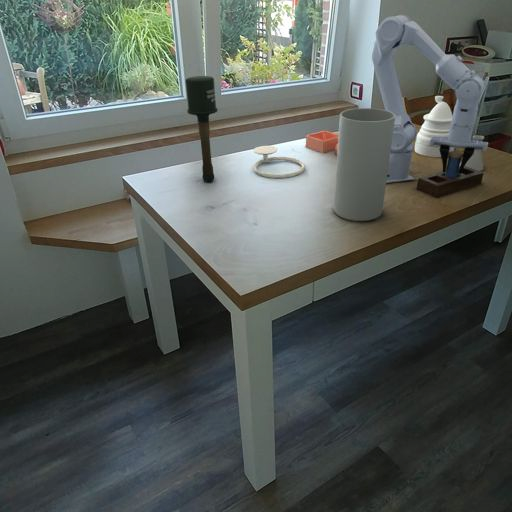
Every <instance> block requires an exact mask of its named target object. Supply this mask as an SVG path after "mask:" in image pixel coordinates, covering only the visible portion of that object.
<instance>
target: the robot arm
mask: <svg viewBox="0 0 512 512" xmlns="http://www.w3.org/2000/svg"><path fill="white" fill-rule="evenodd" d="M374 34H375V35H374V36H375V39H374V44H373V48H372V53H371V61H372V65H373V68H374V72H375V75H376V80H377V84H378V87H379V91H380V95H381V98H382V102H383V107H384V110H387V111H390V112H392V113H394V114H395V122H394V129H393V137H392V144H391V151H390V159H389V166H388V173H387V181H386V184H390V183H397V182H398V183H399V182H406V181H407V182H409V181H413V180H415V178H414V177H413V176H411V175H410V168H411V162H412V157H413V151H414V147H413V144H412V143H413V141H414V140H416V138H417V134H418V130H417V128H416V125H414V123H413V122H412V119H411V117H410V115H409V114H408V113H407V111H406V107H405V103H404V99H403V94H402V90H401V87H400V83H399V78H398V75H397V71H396V67H395V62H394V59H393V58H394V57H393V56H394V55H395V53H396V51H397V49H398V48H399V46H400V45H405V46H406V45H408V46H413V47H414V48H415V49H416V50H418V51H419V52H420V53H421V54H422V55H423V56H425V57H426V58H427V59H428V60H429V61H430V62H431V63H433V64H434V65H435V74H436V75H437V76H438V77H440V79H441V80H442V81H443V82H444V83H445V84H446V85H448V86H449V87H450V88H451V89H452V90H454V91H455V97H456V102H455V105H454V108H453V112H452V116H453V117H452V122H451V127H450V131H449V136H448V137H431V140H430V146H434V145H437V146H440V149H439V150H440V154H441V157H440V158H441V163H442V171H443V172H444V173H445V171H446V169H447V164H448V159H449V156H448V153H449V149H450V147H454V148H458V149H464V150H463V157H461V161H460V163H461V165H460V168H459V172H458V174H460V175H461V172H462V170H463V168H464V166H465V164H466V163H467V161H468V160H469V159H470V158H471V156H472V155H473V154H474V150H475V149H476V150H481V152H487V150H488V146H489V142H488V141H483V140H482V141H477V140H473V139H472V137H473V132H474V128H475V124H476V123H475V122H476V120H477V119H476V118H477V114H478V110H479V104H480V95H481V94H482V93H483V91H484V89H485V82H484V80H483V78H482V76H481V75H479V74H476V71H475V70H474V69H472V70H471V69H470V68H469V67H467V66H466V65H465V63H463V62H462V60H463V58H462V56H461V55H457V56H456V55H455V54H453V53H452V54H451V53H450V54H446V53H445V52H444V50H443V49H441V48H440V47H439V45H438V44H436V42H435V41H434V40H433V39H432V38H431V36H429V34H428V33H427V32H426V31H424V29H423V28H422V27H421V26H420V25H419V24H418V23H417V22H416V21H414V20H412V19H411V18H410V16H408V15H406V14H397V15H394V16H388V17H386V18H384V19H383V20H382V21H381V23H380V24H379V26H378V27H377V29H376V30H375V33H374Z"/></svg>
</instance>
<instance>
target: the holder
mask: <svg viewBox="0 0 512 512" xmlns="http://www.w3.org/2000/svg"><path fill="white" fill-rule="evenodd" d="M459 168H460V166H459ZM458 172H459V170H458ZM445 173H446V171H445ZM445 173H444V172H443V170H442V171H438V172H434V173H431V174H426V175H424V176H420V177H418V179H417V185H416V190H418V191H420V192H422V193H424V194H427V195H429V196H431V197H433V198H436V199H437V198H440V197H443V196H447V195H450V194H453V193H456V192H459V191H463V190H466V189H469V188H473V187H475V186H479V185H482V181H483V177H484V174H485V172H483V171H482V170H481V171H478V170H475V169H472V168H469V167H466V166H464V168H463V170H462V172H461V175H460V174H458V175H457V178H453V179H451V178H449V177H446V176H445Z"/></svg>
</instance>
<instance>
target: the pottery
mask: <svg viewBox="0 0 512 512" xmlns="http://www.w3.org/2000/svg"><path fill="white" fill-rule="evenodd" d="M338 137H339V133H335V132H332V131H328V130H322V131H318V132H313V133H310V134H307V135H305V147H306V148H308V149H311V150H313V151H317V152H318V153H322V154H324V153H328V152H330V151H334V152H335V155H336V156H337V152H338Z"/></svg>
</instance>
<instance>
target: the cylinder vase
mask: <svg viewBox="0 0 512 512" xmlns="http://www.w3.org/2000/svg"><path fill="white" fill-rule="evenodd" d="M394 122H395V114H394V113H392V112H390V111H387V110H385V109H381V108H372V107H358V108H350V109H345V110H343V111H341V112H340V113H339V125H338V135H339V137H338V152H337V155H336V169H335V183H334V197H333V211H334V213H335V214H336V215H337V216H339V217H340V218H342V219H344V220H348V221H353V222H368V221H373V220H376V219H378V218H379V217H380V216H381V215H382V214H383V209H384V203H385V202H384V201H385V196H386V188H387V183H386V181H387V173H388V166H389V159H390V151H391V144H392V137H393V129H394Z"/></svg>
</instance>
